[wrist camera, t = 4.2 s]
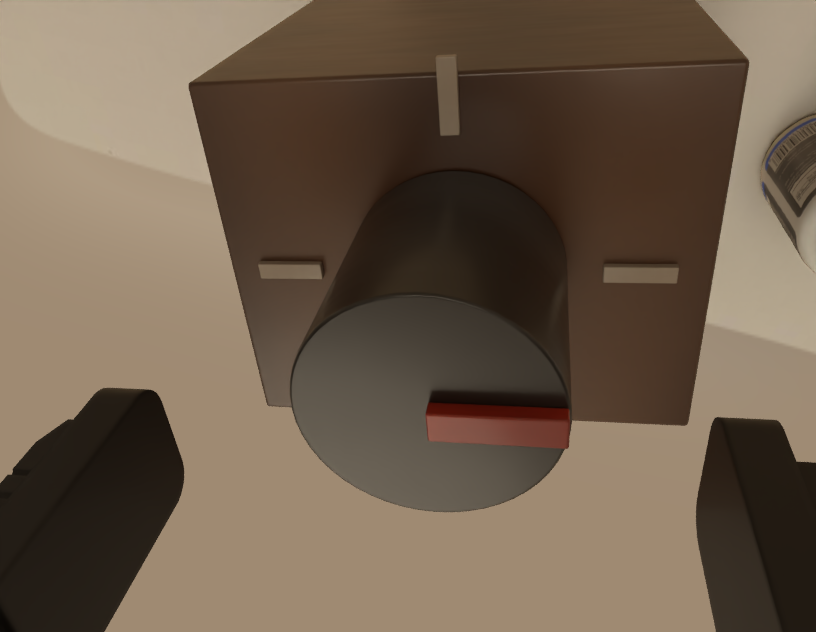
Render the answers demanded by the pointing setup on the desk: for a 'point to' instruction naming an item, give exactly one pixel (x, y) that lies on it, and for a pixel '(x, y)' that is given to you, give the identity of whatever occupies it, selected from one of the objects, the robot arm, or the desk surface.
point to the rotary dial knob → (442, 348)
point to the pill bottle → (794, 185)
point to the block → (489, 163)
